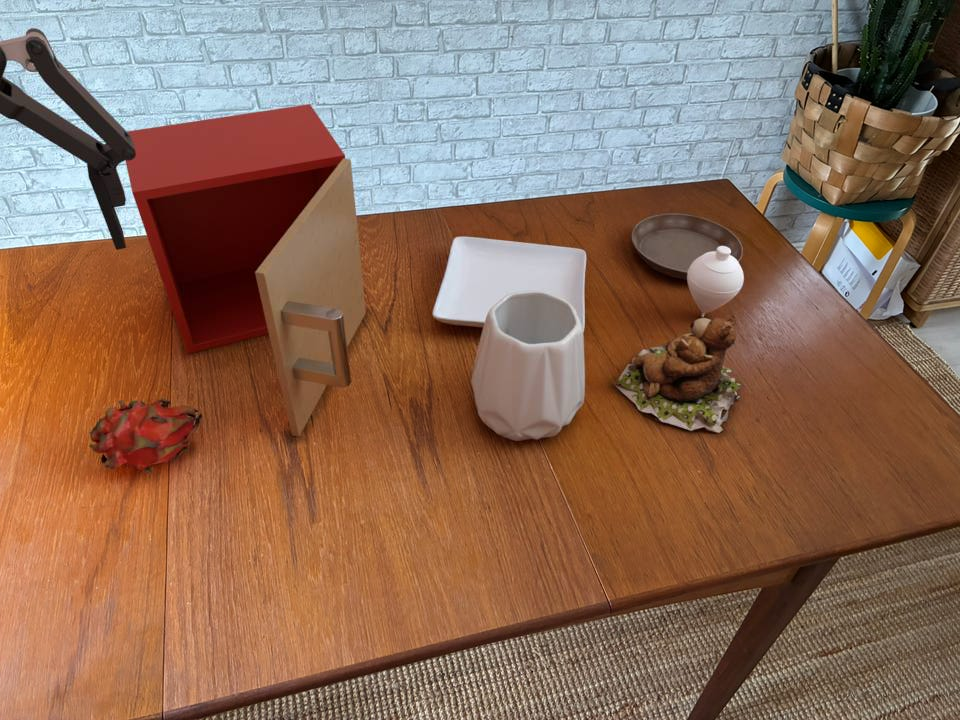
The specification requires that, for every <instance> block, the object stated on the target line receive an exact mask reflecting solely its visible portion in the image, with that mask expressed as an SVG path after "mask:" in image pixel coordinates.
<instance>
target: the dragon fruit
mask: <svg viewBox="0 0 960 720" xmlns="http://www.w3.org/2000/svg"><path fill="white" fill-rule="evenodd" d="M118 404H119V406H120V408H117V407H116V406H112V407H109V408H108V409H106V410H105V412H104V413H105V416H103V417H102V418H99V419H98V421H97V422H96V424H95V426H94V427H93V428H92V429H91V430H90V431H89V437H90V438H89V439H90V440H91V441H92V442H93V443H94V444H91V443H89V445H88V447H89V448H90V449H91V450H92V451H93V452H94V453H97V454H102V456H101V457H100V463H101V464H104V467H105V468H107V469H111V470H116V469H117V468H119V467H121V466H122V465H123V464H124V465H127V466H129V467H131V468H132V467H133V468H135V469H137V470H139V471H140V472H142V473H144V474H146V475H148V474H150V473H152V471H153V466H151V465H158V464H161V463H164V462H165V463H167V462H171V461H172V460H177V459H178V458H179V457H180V456H181V455H183V453H185V451H187V450H188V449H189V447H190V444H189V442H190V440H191V439H192V436H193V435H194V434H195V432H196V431H197V430H198V428H199V427H200V422H201V419H202V418H203V414H202V413H199V414H198V416H197V413H198V412H199V409H198V408H197V407H198V406H196V408H197V409H196V408H194V407H192V406H190V405H179V406H171V407H169V405H170V404H172V402H171V401H170V400H167V399H166V398H159V399H156V400H155V401H153V402H152V403H149V404H146V403H145V402H144V401H143V400H140V401H139V400H131V401H130V402H129V403H128V405H127V404H126V403H125V402H124V400H122V399H120V400H118ZM105 454H106V455H105Z"/></svg>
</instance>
